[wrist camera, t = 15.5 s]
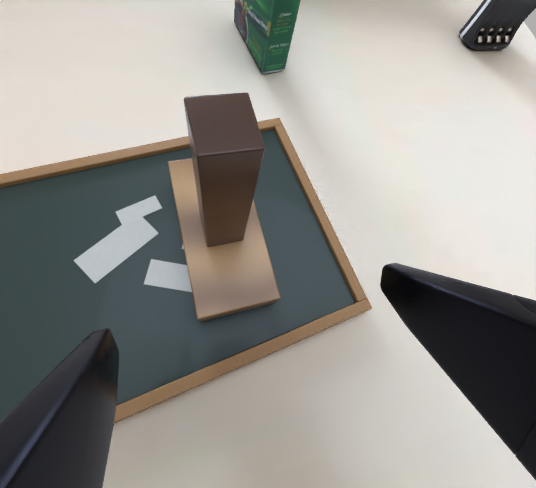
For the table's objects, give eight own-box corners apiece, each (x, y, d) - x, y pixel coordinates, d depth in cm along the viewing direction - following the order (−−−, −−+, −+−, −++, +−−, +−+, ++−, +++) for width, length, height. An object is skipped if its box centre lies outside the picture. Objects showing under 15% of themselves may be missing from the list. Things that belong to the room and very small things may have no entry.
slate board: (-91, 512, 14) (-113, 523, 13) (-105, 205, 19) (-122, 198, 18) (365, 309, 22) (372, 308, 21) (277, 125, 26) (279, 117, 25)
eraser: (273, 303, 20) (342, 253, 9) (199, 322, 19) (173, 291, 8) (238, 172, 23) (256, 13, 12) (172, 180, 22) (126, 13, 11)
